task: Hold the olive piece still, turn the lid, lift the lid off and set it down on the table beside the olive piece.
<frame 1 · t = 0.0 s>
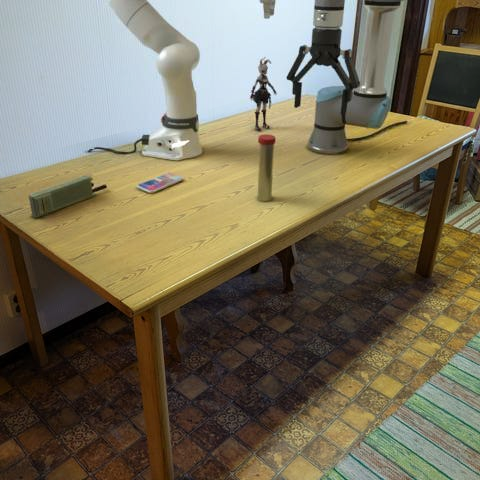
left hand: (268, 16, 163), 48 cm above the table, tool pointing down, fingers open, 8 cm apart
right hand: (319, 110, 140), 28 cm above the table, tool pointing down, fingers open, 13 cm apart
handheld radio: (72, 203, 151), on the table
olive piece: (264, 198, 156), on the table
figurine: (260, 128, 218), on the table
smartphone: (160, 184, 164), on the table
lid: (266, 138, 146), point 19 cm above the table, screwed on, not yet turned
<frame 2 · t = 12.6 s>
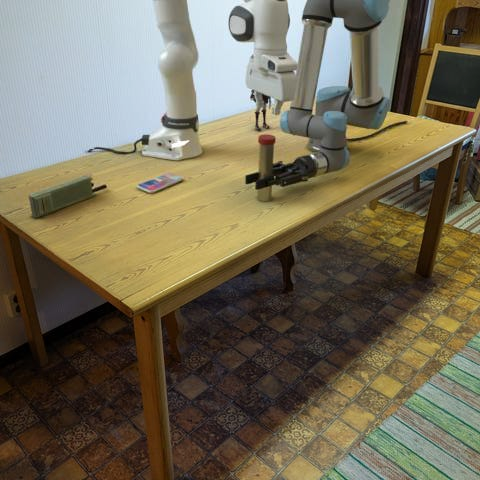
left hand: (267, 110, 142), 27 cm above the table, tool pointing down, fingers open, 7 cm apart
right hand: (251, 182, 150), 7 cm above the table, tool horizontal, fingers closed on olive piece, 4 cm apart
olive piece: (264, 198, 156), on the table, touching right hand
everything else where it was.
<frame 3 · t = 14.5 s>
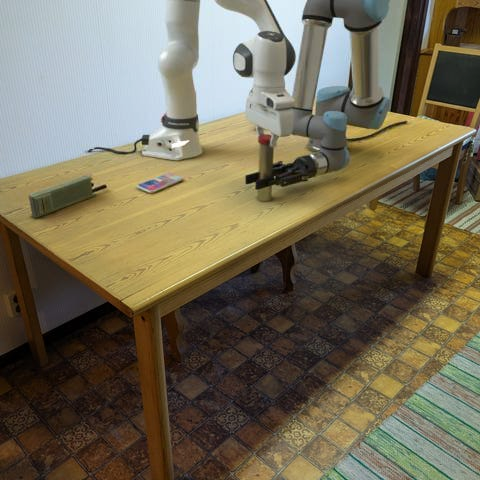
left hand: (266, 143, 147), 18 cm above the table, tool pointing down, fingers closed on lid, 5 cm apart
right hand: (251, 182, 150), 7 cm above the table, tool horizontal, fingers closed on olive piece, 4 cm apart
olive piece: (264, 198, 156), on the table, touching right hand
lid: (266, 138, 146), point 19 cm above the table, screwed on, not yet turned, touching left hand
everything else where it was.
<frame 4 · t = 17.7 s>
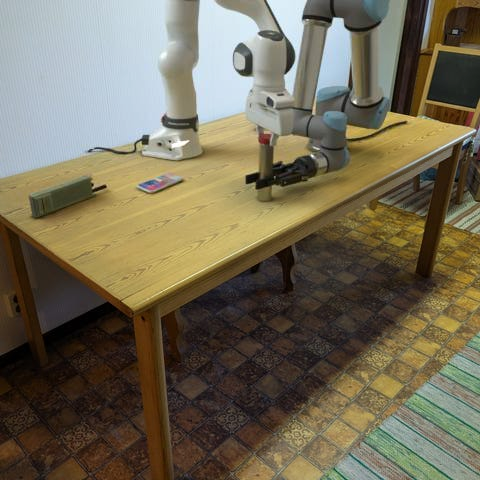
left hand: (266, 142, 147), 18 cm above the table, tool pointing down, fingers closed on lid, 5 cm apart
right hand: (251, 182, 150), 7 cm above the table, tool horizontal, fingers closed on olive piece, 4 cm apart
olive piece: (264, 198, 156), on the table, touching right hand
lid: (267, 137, 146), point 19 cm above the table, turned 75° so far, risen 0.2 cm, still on its thread, touching left hand
everything else where it was.
when the left hand's fingers open (2 cm above the table, at t = 23.5 s): lid drops 2 cm, point 1 cm above the table.
when the right hand's fingers open (7 cm above the table, at t = 24.3 s): olive piece stays where it is, on the table.
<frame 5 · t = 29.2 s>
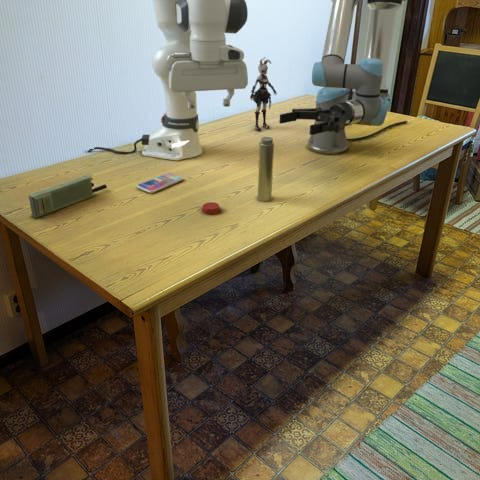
left hand: (209, 107, 133), 30 cm above the table, tool pointing down, fingers open, 8 cm apart
right hand: (294, 124, 151), 22 cm above the table, tool horizontal, fingers open, 13 cm apart
olive piece: (264, 198, 156), on the table
lid: (211, 206, 147), point 1 cm above the table, off its thread
everything else where it was.
at the end: lid came off its thread; lid point 1.3 cm above the table; the left hand is holding nothing; the right hand is holding nothing; olive piece tilted 0°; olive piece moved 0.0 cm from its start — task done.
